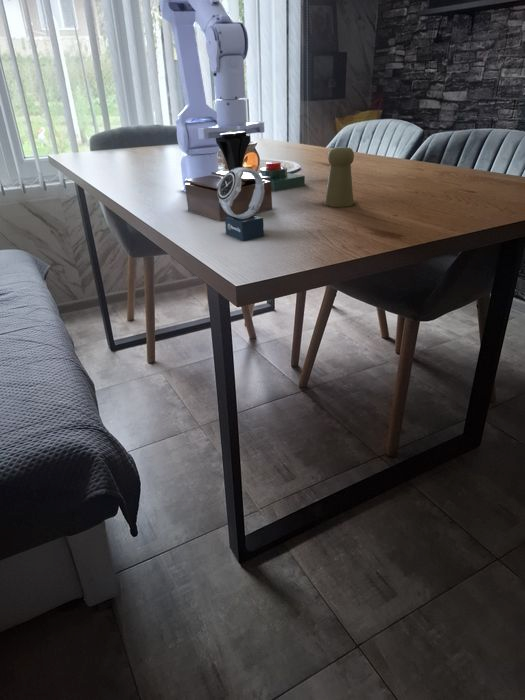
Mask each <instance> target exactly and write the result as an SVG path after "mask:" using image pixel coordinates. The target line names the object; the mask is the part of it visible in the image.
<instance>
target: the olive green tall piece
mask: <svg viewBox="0 0 525 700" xmlns="http://www.w3.org/2000/svg"><path fill="white" fill-rule="evenodd" d="M327 153H328V154H327V162H328V164H329V165H330V166H329V172H328V178H327V186H326V191H325V198H324V205H325V206H327V207H333V208H344V207H351V206H353V205H354V190H353V179H352V164H353V162H354V159H355V153H354V151H353V149H352V148H350V147H347V146H336V147H333V148H330V149H329V151H328V152H327Z"/></svg>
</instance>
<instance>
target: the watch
mask: <svg viewBox="0 0 525 700" xmlns="http://www.w3.org/2000/svg"><path fill="white" fill-rule="evenodd" d="M227 171H228V172H227V173H225V174H224V176H221V177H222V179H221V180H220V183H219V185H218V191H217V194H218V198H219V201H220V203H221V206H222V208H223V210H224V211H225V212H226V213H227V214H229V216H225V220H224V223H225V224H224V227H225V235H227V236H229V237H232V238H234V239H236V240H239V241H241V242H245V241H248V240H253V239H258V238H261V237H264V236H265V227H264V226H265V225H264V217H263V216H259V215H256V214H257V213H259V212H258V210H259V208H260V206H261V203H262V201H263V197H264V192H265V190H264V182H263V179H262V177H261V176H260V174H259V173H260V172H258V171H256V170H254V169H253V168H247V167H243V166H242V167H239V168H235V169H233V170H231V171H229V170H227ZM243 172H245V173H246V172H247V173H250V174H252V176H254V179H255V181H256V185H255V189H254V193H253V197H252V200H251V202H250V204H249V209H248V211H246V212H243V213H238V214H234V213H233V212H232V210H231V208H230V207H231V206H232V203H233V200H234V199H235V198H236V196H237V195H238V194H239V192H240V191H241V179H242V176H243V174H244V173H243ZM256 212H257V213H256Z"/></svg>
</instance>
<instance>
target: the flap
mask: <svg viewBox="0 0 525 700" xmlns="http://www.w3.org/2000/svg"><path fill="white" fill-rule="evenodd" d="M228 171H229V170H226V171H219V172H211V174H214V175H219V177H223V176H224V174H225V173H227V172H228ZM243 173H244V174H243V176H242V179H241V180H244V181H251V180H255V179H254V176H252V174H251V173H249V172H246V171H245V172H243ZM260 176H261V175H260ZM261 177H262V179H263V180H266V179H271V177H267V176H261Z"/></svg>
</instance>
